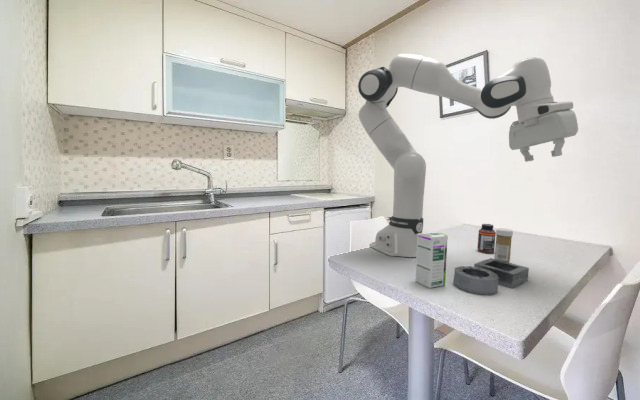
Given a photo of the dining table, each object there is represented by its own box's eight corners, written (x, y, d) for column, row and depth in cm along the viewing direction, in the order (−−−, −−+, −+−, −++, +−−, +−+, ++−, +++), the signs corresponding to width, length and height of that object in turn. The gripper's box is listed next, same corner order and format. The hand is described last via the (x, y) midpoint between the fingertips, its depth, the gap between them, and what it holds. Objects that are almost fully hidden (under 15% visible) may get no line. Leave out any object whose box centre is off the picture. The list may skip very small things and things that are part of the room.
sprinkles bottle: (511, 269, 91) (515, 229, 90) (505, 272, 89) (509, 231, 87) (496, 265, 95) (500, 227, 94) (490, 267, 93) (493, 228, 91)
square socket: (473, 276, 84) (474, 263, 84) (490, 270, 90) (491, 258, 90) (512, 288, 76) (513, 274, 75) (527, 280, 82) (529, 267, 81)
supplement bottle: (477, 248, 116) (480, 222, 115) (494, 251, 113) (496, 224, 112) (476, 252, 111) (478, 224, 110) (493, 254, 108) (496, 226, 107)
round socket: (446, 283, 78) (447, 270, 78) (465, 276, 84) (466, 264, 84) (484, 298, 69) (486, 283, 69) (503, 289, 75) (505, 275, 75)
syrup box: (430, 288, 75) (433, 236, 73) (414, 280, 80) (417, 232, 78) (445, 285, 77) (448, 235, 75) (429, 278, 82) (432, 230, 81)
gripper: (500, 124, 93) (506, 165, 93) (557, 102, 72) (564, 154, 72) (518, 122, 93) (524, 162, 93) (579, 99, 73) (586, 151, 73)
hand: (542, 158), depth 82 cm, fingers open, 8 cm apart
